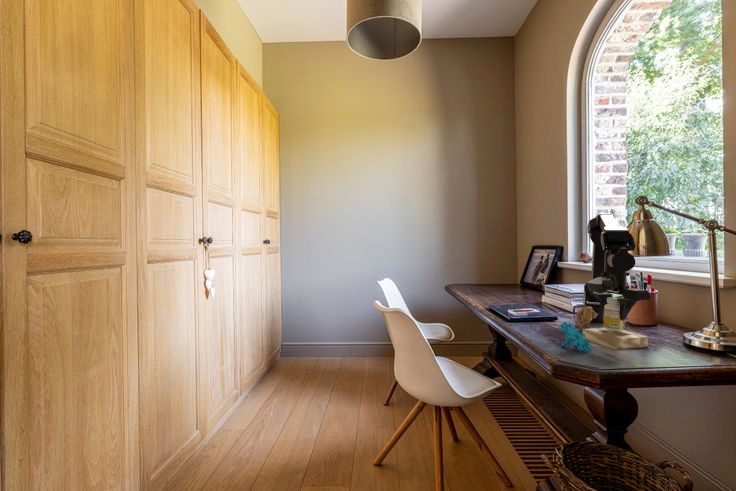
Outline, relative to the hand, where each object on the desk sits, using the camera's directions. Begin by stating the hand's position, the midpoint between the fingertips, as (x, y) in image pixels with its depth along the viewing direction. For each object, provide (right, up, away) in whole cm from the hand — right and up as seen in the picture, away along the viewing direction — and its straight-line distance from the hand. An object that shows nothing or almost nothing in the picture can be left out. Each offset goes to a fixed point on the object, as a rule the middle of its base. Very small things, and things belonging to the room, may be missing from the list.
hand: (614, 318), depth 114 cm
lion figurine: (+1, -8, +17) cm, 19 cm away
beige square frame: (0, -8, 0) cm, 8 cm away
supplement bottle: (0, -4, 0) cm, 4 cm away
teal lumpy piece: (-16, -8, -7) cm, 19 cm away
